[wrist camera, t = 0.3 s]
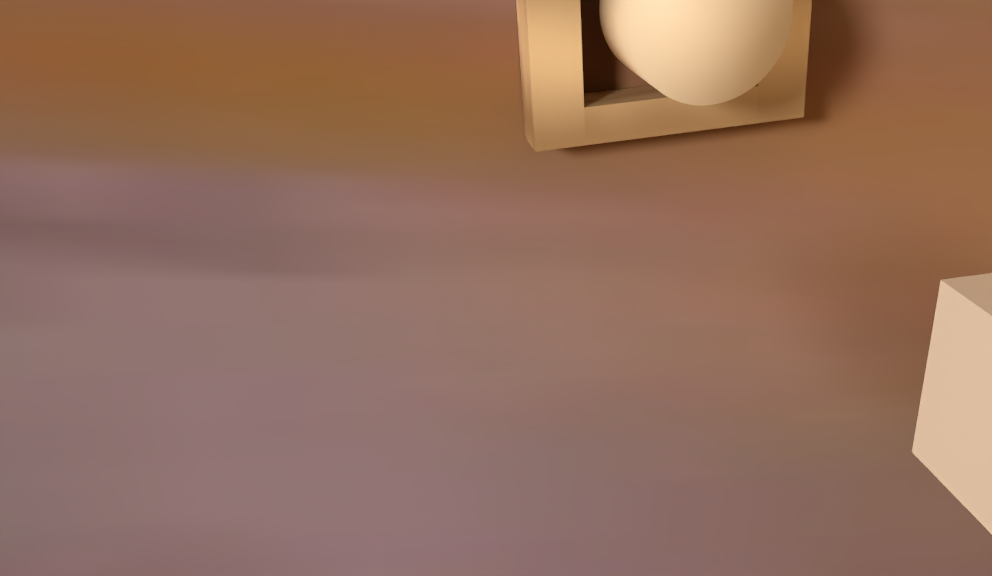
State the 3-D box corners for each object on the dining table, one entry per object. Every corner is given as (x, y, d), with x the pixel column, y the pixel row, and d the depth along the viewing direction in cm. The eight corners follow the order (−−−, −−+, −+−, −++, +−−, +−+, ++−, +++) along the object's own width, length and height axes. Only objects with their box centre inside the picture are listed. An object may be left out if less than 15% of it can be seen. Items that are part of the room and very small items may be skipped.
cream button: (597, -70, 33) (630, -59, 29) (747, -85, 33) (798, -77, 30) (601, 87, 35) (632, 115, 32) (741, 70, 36) (787, 95, 32)
